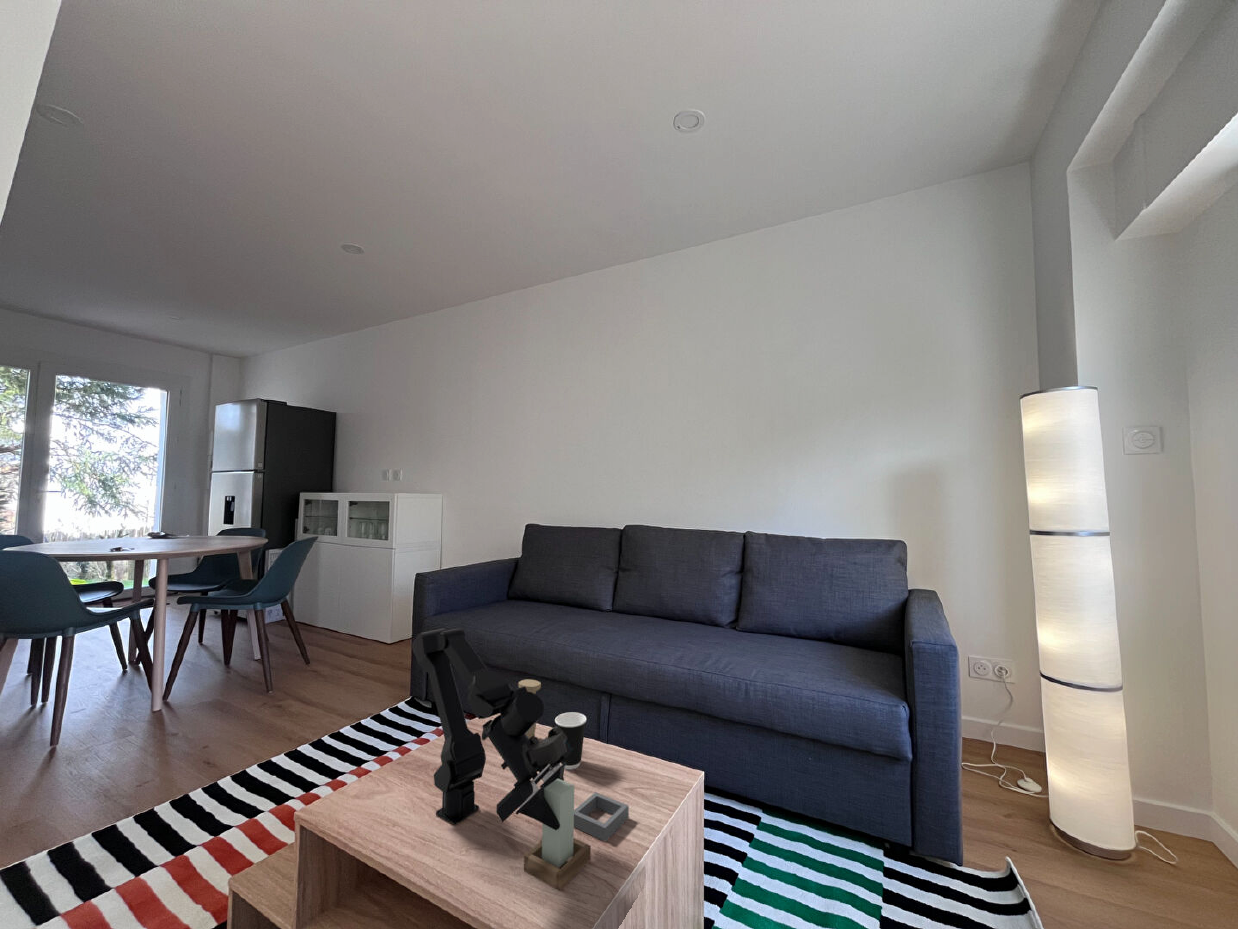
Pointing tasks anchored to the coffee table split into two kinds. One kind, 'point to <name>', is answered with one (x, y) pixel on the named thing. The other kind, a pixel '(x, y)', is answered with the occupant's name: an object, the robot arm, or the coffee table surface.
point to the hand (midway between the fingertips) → (564, 820)
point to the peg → (560, 841)
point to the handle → (532, 687)
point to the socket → (596, 827)
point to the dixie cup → (572, 736)
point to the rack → (552, 873)
